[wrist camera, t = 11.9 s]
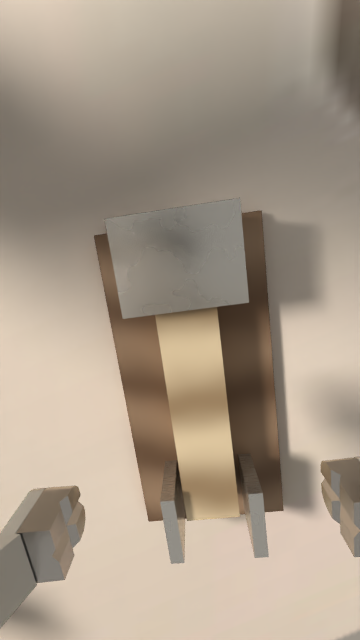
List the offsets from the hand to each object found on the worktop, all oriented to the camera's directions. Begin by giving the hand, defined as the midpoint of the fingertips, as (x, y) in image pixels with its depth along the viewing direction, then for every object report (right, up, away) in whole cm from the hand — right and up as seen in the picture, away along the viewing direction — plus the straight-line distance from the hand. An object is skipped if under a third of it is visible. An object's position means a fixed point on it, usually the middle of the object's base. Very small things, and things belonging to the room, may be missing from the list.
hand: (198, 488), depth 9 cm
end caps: (+1, +1, +12) cm, 12 cm away
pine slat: (+1, +1, +12) cm, 12 cm away
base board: (+1, +1, +13) cm, 13 cm away
